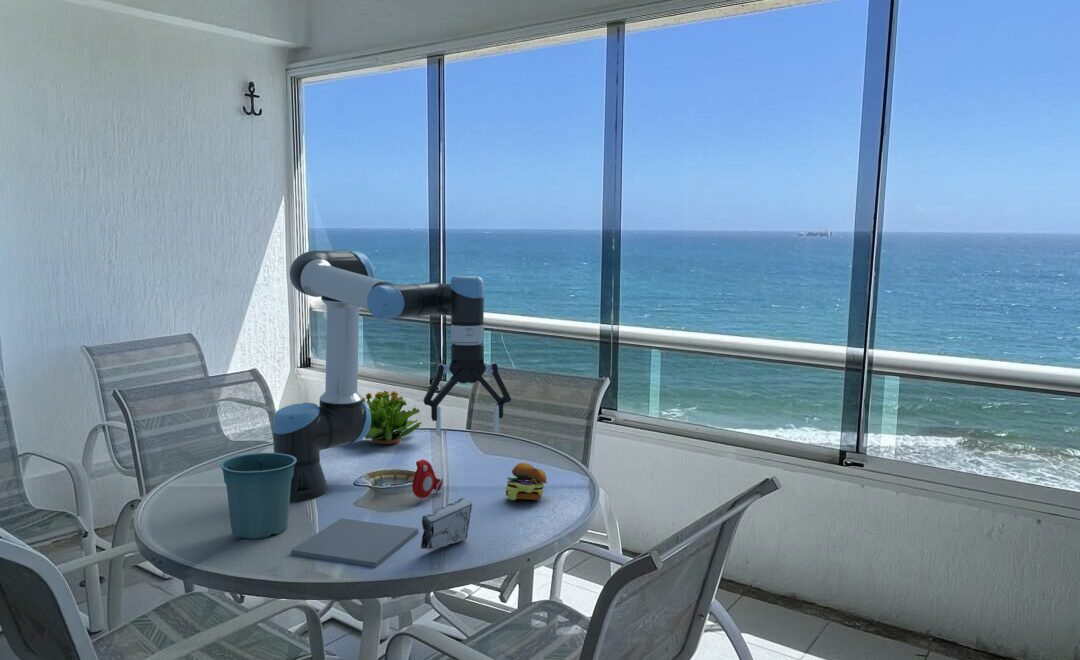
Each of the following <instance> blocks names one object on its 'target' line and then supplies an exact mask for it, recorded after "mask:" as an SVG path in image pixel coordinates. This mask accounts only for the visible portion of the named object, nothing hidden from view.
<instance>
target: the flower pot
mask: <svg viewBox="0 0 1080 660" xmlns="http://www.w3.org/2000/svg"><path fill="white" fill-rule="evenodd" d="M296 461H297V459H296V458H295V457H294V456H291V455H287V454H280V453H274V452H256V453H254V452H253V453H247V454H246V453H245V454H241V455H236V456H232V457H229V458H227V459H224V460H223V461H221V462H220V464H219V466H220V468H221V470H222V473H223V481H224V484H225V485H226V492H227V493H226V494H227V503H228V510H229V519H230V527H231V529H230V530H231V533H232V535H236V536H237V537H238V538H242V539H243V538H244V539H254V540H255V539H262V538H269V537H270V536H271V535H273V534H274V535H280V534H281V533H283V532H285V531H286V529H287V528H288V523H289V512H290V511H289V510H290V503H291V501H290V490H291V479H292V478H293V472H294V465H295V464H296Z"/></svg>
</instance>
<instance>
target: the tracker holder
mask: <svg viewBox="0 0 1080 660" xmlns="http://www.w3.org/2000/svg"><path fill="white" fill-rule="evenodd" d="M415 463H416V470H415V473H414V475H413V480H412V485H411V486H412V488H411V489H412V491H413V494H414V496H415V497H417V498H420V499H425V498H427V497H428V496H430V495H431V493H432V492H433V490H435V493H438V492H440V491H441V490H442V489H443V481H444V478H441V479H440V478H437V477H436V475H435V471H434V469H433V467H432V464H431V463H430V462H429V461H427V460H426V459H420V460H416V462H415Z"/></svg>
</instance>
